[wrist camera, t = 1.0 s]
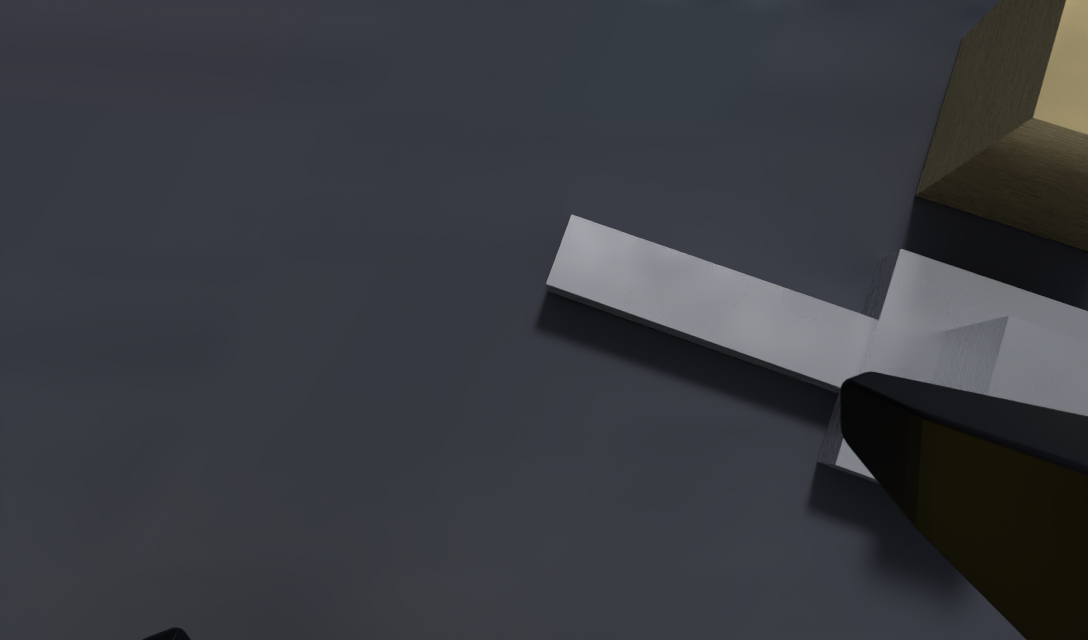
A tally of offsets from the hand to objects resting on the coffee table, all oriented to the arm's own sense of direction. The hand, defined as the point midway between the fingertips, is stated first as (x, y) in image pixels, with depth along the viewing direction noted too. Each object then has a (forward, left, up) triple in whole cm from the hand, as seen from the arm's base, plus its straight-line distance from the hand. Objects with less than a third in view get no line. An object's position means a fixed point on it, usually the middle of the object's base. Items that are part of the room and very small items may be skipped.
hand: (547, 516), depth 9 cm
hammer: (-6, -6, -14) cm, 16 cm away
